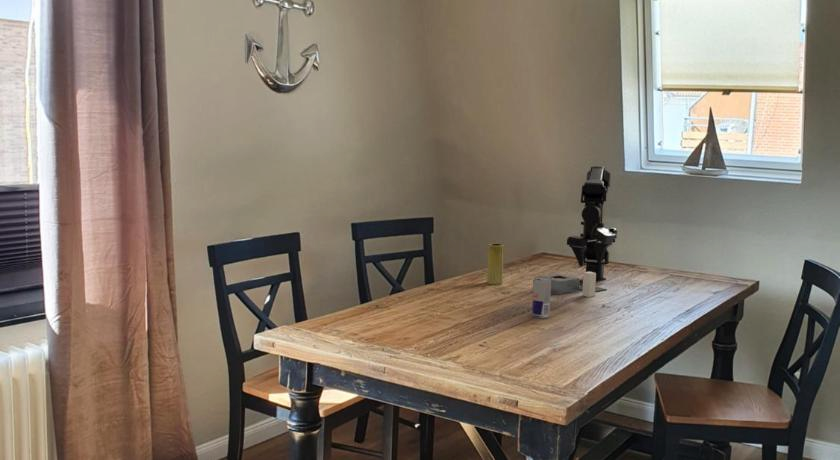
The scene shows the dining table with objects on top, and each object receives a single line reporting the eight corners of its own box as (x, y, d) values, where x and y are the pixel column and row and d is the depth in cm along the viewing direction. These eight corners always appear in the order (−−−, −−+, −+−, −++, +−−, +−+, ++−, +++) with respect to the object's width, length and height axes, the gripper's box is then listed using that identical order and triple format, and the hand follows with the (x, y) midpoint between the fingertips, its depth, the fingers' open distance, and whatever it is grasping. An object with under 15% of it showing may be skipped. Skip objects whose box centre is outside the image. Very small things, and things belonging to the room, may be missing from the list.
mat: (589, 286, 310) (589, 285, 310) (606, 290, 304) (606, 289, 304) (574, 288, 305) (574, 287, 305) (591, 293, 299) (591, 291, 299)
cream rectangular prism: (588, 294, 297) (589, 271, 296) (595, 295, 295) (596, 273, 293) (582, 295, 295) (583, 272, 294) (589, 297, 293) (590, 274, 292)
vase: (503, 281, 315) (504, 243, 313) (503, 285, 309) (504, 246, 307) (486, 281, 316) (487, 242, 314) (486, 284, 310) (487, 245, 308)
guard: (557, 285, 310) (558, 273, 309) (579, 290, 302) (579, 278, 302) (538, 289, 304) (538, 276, 303) (559, 294, 296) (560, 281, 295)
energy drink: (530, 314, 267) (531, 276, 265) (547, 314, 268) (548, 276, 266) (534, 318, 262) (535, 280, 260) (551, 318, 262) (553, 280, 261)
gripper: (592, 224, 279) (590, 271, 281) (629, 220, 291) (626, 265, 293) (566, 220, 288) (564, 265, 290) (603, 216, 299) (601, 260, 301)
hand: (590, 264), depth 293 cm, fingers open, 9 cm apart
